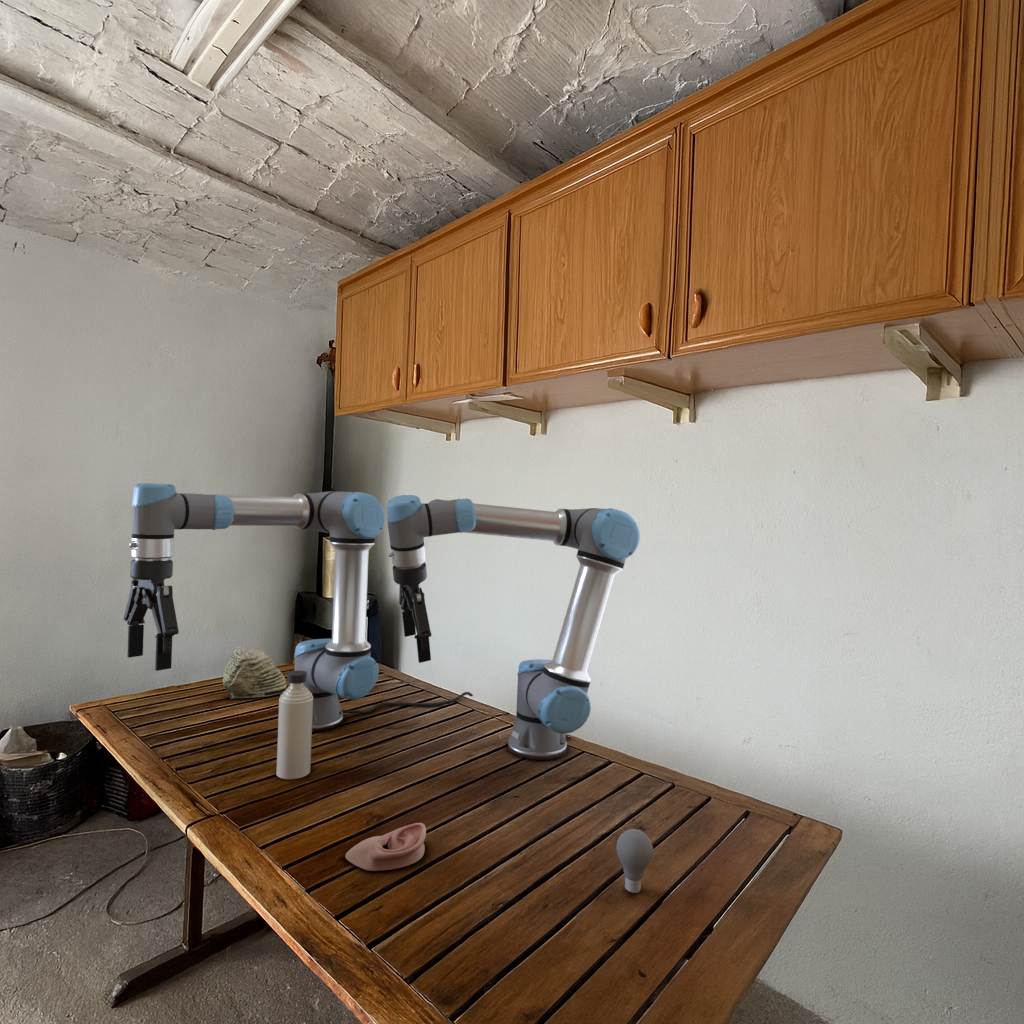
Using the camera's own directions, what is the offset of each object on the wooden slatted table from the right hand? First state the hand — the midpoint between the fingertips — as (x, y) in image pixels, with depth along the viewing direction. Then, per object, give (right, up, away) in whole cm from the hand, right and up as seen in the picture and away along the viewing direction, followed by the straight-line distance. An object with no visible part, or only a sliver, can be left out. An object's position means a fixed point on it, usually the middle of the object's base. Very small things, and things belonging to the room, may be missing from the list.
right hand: (417, 647), depth 149 cm
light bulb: (+42, -31, -44) cm, 69 cm away
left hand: (-52, +1, -20) cm, 56 cm away
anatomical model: (0, -29, -36) cm, 46 cm away
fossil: (-58, -25, +49) cm, 80 cm away
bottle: (-28, -28, -4) cm, 39 cm away
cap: (-27, -5, -5) cm, 28 cm away
